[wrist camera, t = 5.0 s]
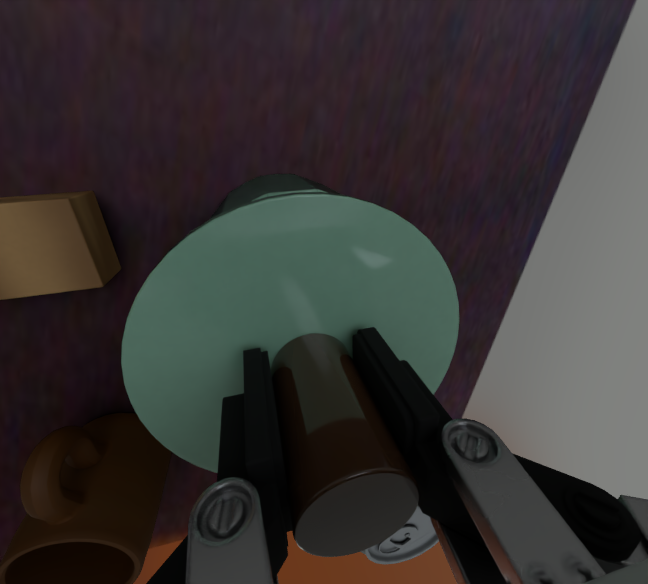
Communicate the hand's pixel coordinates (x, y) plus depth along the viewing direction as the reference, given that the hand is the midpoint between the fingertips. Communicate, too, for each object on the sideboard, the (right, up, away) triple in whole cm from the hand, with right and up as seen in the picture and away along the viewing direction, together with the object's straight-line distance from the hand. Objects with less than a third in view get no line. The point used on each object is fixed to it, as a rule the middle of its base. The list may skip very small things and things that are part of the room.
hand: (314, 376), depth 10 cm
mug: (-17, -8, +15) cm, 24 cm away
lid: (0, 0, +1) cm, 1 cm away
